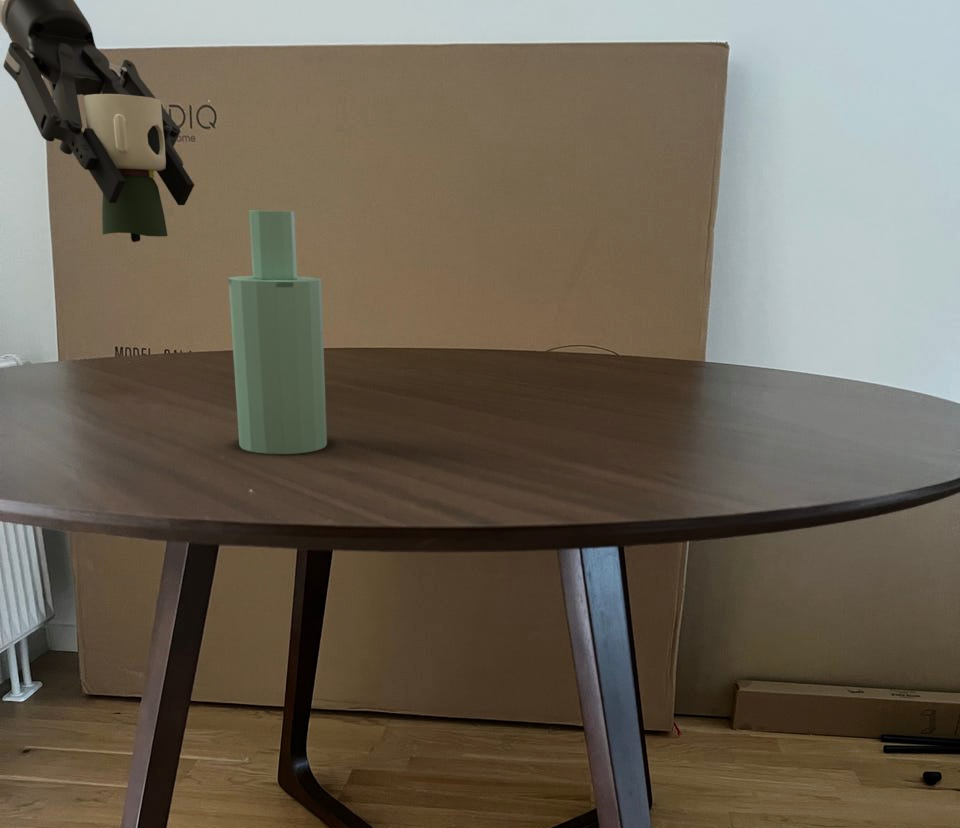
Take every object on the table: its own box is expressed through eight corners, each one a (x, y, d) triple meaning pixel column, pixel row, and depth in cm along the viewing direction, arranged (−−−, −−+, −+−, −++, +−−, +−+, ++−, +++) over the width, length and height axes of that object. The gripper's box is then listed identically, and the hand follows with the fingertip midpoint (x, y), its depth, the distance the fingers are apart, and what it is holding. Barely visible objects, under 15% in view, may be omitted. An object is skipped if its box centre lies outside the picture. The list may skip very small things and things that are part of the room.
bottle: (248, 463, 83) (232, 209, 76) (234, 445, 89) (217, 209, 82) (335, 458, 86) (328, 212, 78) (315, 441, 92) (306, 211, 85)
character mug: (168, 244, 100) (156, 93, 95) (91, 242, 99) (75, 89, 94) (176, 241, 110) (165, 105, 105) (106, 239, 108) (91, 101, 104)
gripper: (116, 62, 114) (220, 223, 110) (-68, 35, 99) (46, 220, 96) (140, 1, 109) (249, 169, 105) (-51, -37, 94) (70, 156, 91)
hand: (152, 193), depth 101 cm, fingers closed on character mug, 7 cm apart
